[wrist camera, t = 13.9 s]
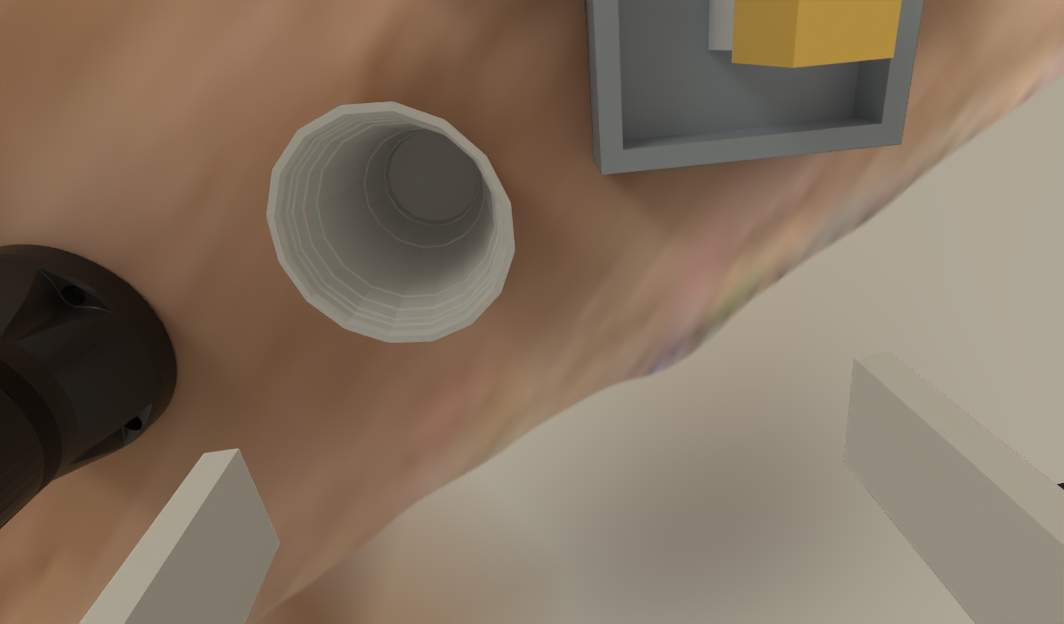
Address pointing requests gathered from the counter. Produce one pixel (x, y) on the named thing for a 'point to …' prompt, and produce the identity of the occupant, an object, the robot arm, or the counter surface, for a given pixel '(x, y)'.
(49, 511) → the counter surface
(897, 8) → the block
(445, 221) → the plastic cup
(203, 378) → the counter surface
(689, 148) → the parts tray
